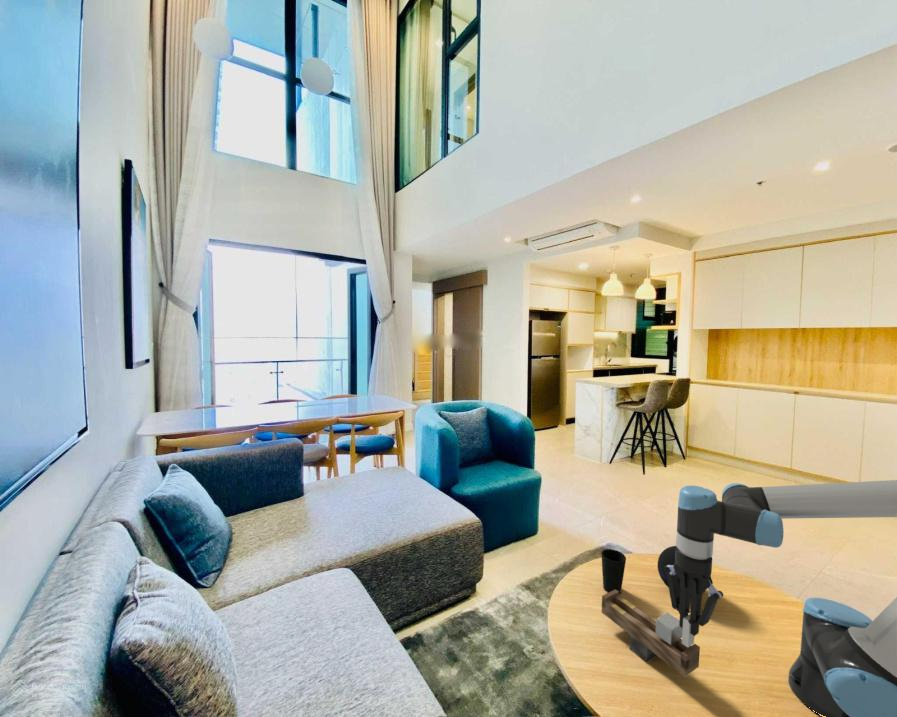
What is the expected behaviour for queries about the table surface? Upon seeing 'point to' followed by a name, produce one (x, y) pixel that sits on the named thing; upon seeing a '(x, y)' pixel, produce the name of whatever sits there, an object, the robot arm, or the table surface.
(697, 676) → the table surface
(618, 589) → the cup
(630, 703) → the table surface
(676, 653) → the beam
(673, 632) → the block
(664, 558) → the decorative sphere
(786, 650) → the table surface
